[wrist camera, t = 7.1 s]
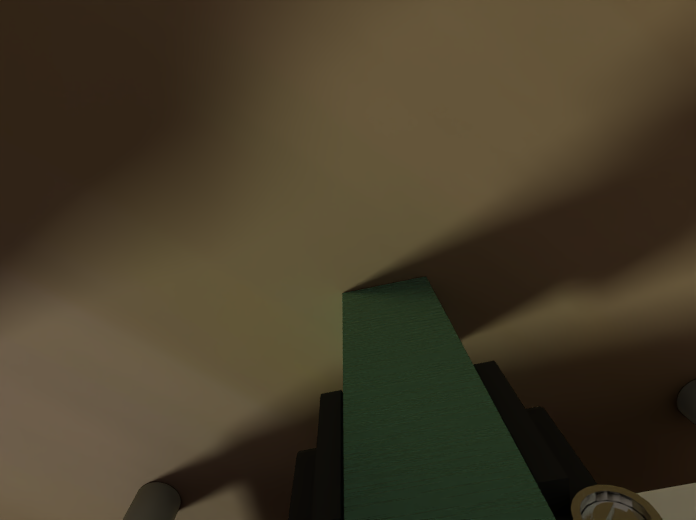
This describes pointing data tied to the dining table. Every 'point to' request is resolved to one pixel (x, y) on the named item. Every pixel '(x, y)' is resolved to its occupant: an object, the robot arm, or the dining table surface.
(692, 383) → the low cabinet
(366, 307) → the scraper
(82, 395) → the dining table surface
